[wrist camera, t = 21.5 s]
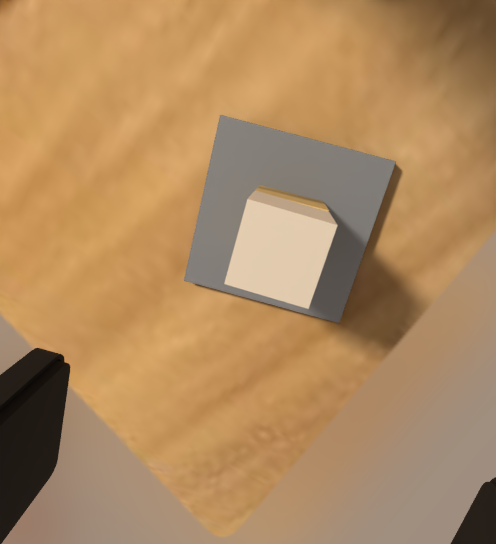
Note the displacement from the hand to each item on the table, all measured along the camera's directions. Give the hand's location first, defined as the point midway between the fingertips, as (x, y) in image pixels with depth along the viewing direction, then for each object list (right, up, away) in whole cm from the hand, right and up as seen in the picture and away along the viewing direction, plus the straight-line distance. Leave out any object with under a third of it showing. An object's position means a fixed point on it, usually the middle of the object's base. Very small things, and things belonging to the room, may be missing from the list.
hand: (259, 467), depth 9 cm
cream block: (+2, +7, +24) cm, 25 cm away
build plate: (+3, +9, +31) cm, 32 cm away
